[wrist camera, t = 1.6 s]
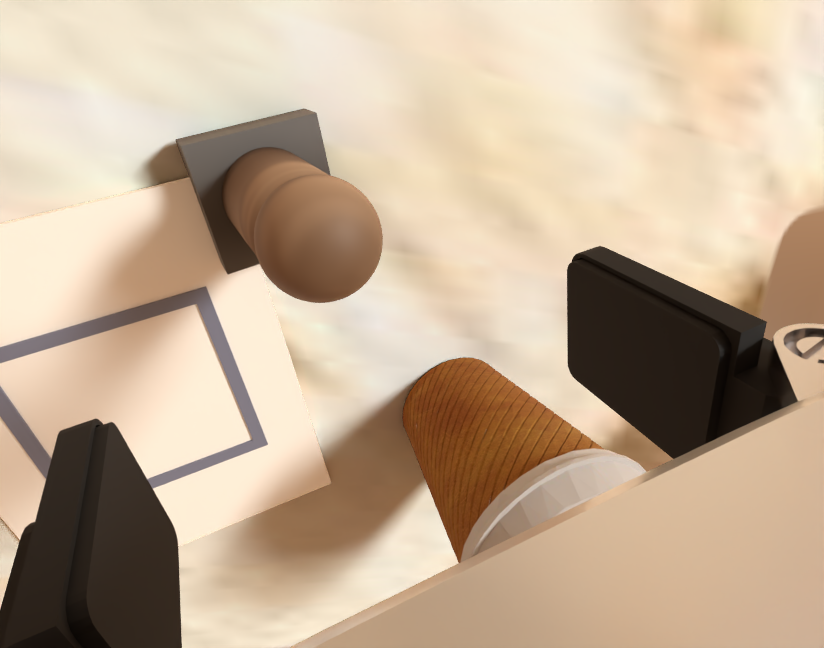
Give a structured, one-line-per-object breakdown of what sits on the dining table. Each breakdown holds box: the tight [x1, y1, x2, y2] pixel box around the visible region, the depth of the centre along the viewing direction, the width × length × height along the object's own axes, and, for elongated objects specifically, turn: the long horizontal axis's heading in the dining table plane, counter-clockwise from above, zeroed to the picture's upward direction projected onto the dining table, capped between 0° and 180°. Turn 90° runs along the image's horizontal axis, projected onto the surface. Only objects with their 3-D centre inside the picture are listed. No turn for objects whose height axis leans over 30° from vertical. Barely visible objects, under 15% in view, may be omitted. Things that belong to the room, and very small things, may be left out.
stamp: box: [176, 109, 383, 303], centre depth 18 cm, size 5×5×9 cm
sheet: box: [0, 177, 332, 547], centre depth 24 cm, size 18×14×1 cm
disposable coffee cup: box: [403, 358, 646, 563], centre depth 27 cm, size 10×10×12 cm
